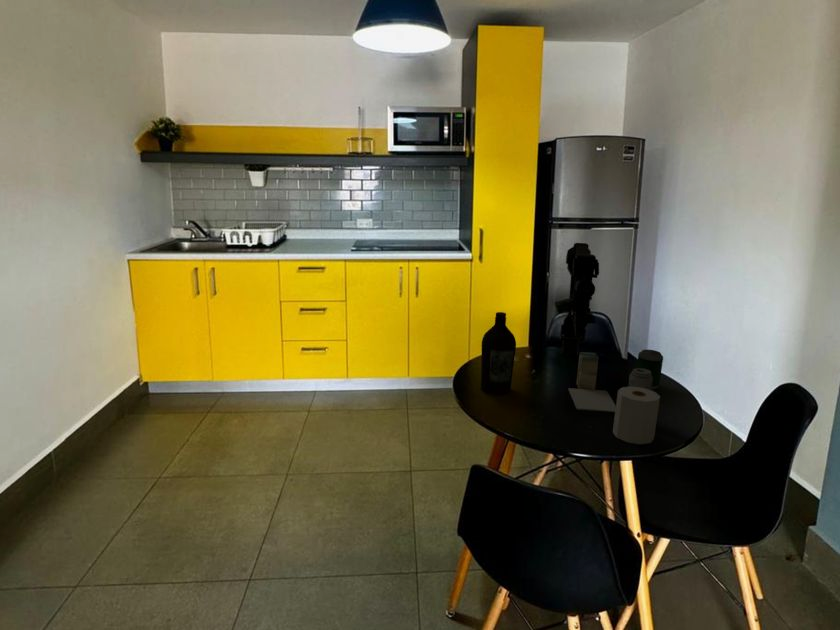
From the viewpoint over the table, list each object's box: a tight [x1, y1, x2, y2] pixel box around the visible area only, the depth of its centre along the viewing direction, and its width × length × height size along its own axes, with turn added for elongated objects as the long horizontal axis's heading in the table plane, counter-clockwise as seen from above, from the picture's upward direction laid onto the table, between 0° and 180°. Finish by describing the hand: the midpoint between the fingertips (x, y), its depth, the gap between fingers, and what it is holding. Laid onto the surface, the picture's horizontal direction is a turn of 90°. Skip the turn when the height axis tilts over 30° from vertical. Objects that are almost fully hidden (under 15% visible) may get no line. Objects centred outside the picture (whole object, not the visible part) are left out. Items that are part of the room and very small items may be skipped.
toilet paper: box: [612, 386, 661, 445], centre depth 151 cm, size 10×10×12 cm
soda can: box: [636, 349, 664, 391], centre depth 187 cm, size 8×8×12 cm
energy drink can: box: [627, 367, 653, 391], centre depth 160 cm, size 6×6×15 cm
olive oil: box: [480, 311, 517, 396], centre depth 178 cm, size 11×11×25 cm
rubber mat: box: [567, 387, 616, 413], centre depth 176 cm, size 16×12×1 cm
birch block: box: [575, 351, 599, 390], centre depth 185 cm, size 5×5×11 cm
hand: (577, 337), depth 196 cm, fingers closed
